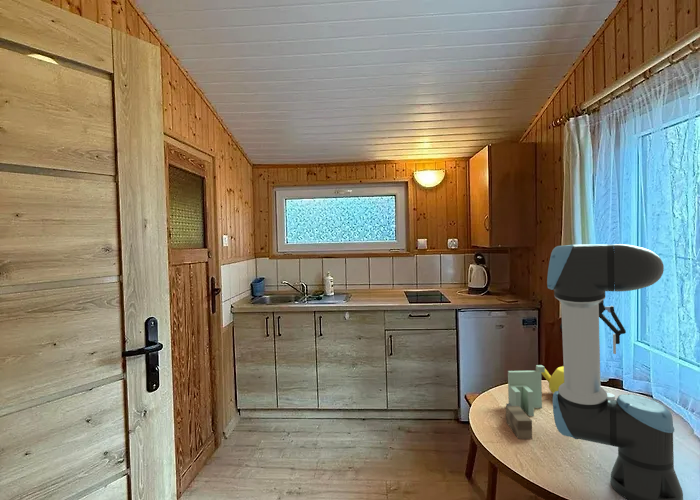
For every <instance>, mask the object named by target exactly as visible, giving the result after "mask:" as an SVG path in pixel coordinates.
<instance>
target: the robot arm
mask: <svg viewBox="0 0 700 500" xmlns="http://www.w3.org/2000/svg"><path fill="white" fill-rule="evenodd" d="M664 269H665V266H664V262H663V260H662V259H661V257H660V256H659V255H658V254H657V253H655V251H652V250H650V249H647V248H645V247H640V246H637V245H632V244H623V243H618V244H617V243H614V244H573V243H572V244H568V245H567V244H566V245H557V246H555V247H553V249H552V251H551V253H550V258H549V261H548V269H547V279H546V280H547V281H546V284H547V289H549V290H551V291H553V294H554V296H553V297H554V298H555V299H557V300H558V301H559V302H560V304H561V305H560V308H561V312H560V313H561V323H560V325H559V329H561V332H562V333H561V335H562V357H563V358H562V359H563V366H564V383H563V384H561V385H560V386H559V389H558V391H555V392H554V394H553V393H552V412H553V419H554V424H555V427H556V429H557V431H558V432H559V434H561V435H562V436H564V437H570V438H573V439H575V440H582V441H586V442H592V443H597V444H601V445H602V444H603V445H604V446H605V445H606V446H612V447H616V448H617V457H616V459H615V462H614V464H613V467H612V469H611V472H610V484H611V487H612V489H613V490H614V491H615V492H616V493H618V494H619V495H620V496H621V497H623V498H624V499H626V500H684V492H683V488H682V486H681V483H680V481H679V478H678V475H677V473H676V471H675V468H674V467H675V461H674V433H675V426H674V418H673V414H672V412H671V411H670V410H669V409H668V408H667V407H666V406H665V405H663V404H661V403H659V402H658V401H655V400H654V399H652V398H651V399H650V398H647V397H645V396H640V395H636V394H631V393H630V394H629V393H628V394H623V393H622V394H619V395H618V396H617V398H616V399H615V400H611V399H607V393H608V392H607V391H606V390H605V389H604V388H603V387H602V386H601V350H600V348H601V343H600V319H601V320H602V321H603V323H604V324H605V325H606V326H607V327H608V328H609V329H610V330H611V331H612V332H613V333H612V348H613V350H612V351H613V353H612V354H614V355H617V345H620V341H621V339H620V338H621V336H620V335H625V334H626V333H627V332H626V329H625V327H624V326H623V324H622V322H621V320H620V319H619V317H618V315H617V314H616V311H615V306H614V305H610V306H609V305H607V306H605V304H604V300H605V299H606V292H617V293H618V292H630V291H637V290H642V289H644V288H645V289H646V288H647V287H650V286H652V285H654V284H656V283H657V282H659V280H661V278H662V276H663V274H664V271H665V270H664ZM605 311H606V312H608V313H610V315H611V317H612V318H613V320H614V321H615V324H616V325H617V327H618V328H619V329H617V327H616V326H615V325H614V324H613V323H612V322H611V321H610V319H608V318H607V317H606V316H605V315H604V312H605ZM606 392H607V393H606Z"/></svg>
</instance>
